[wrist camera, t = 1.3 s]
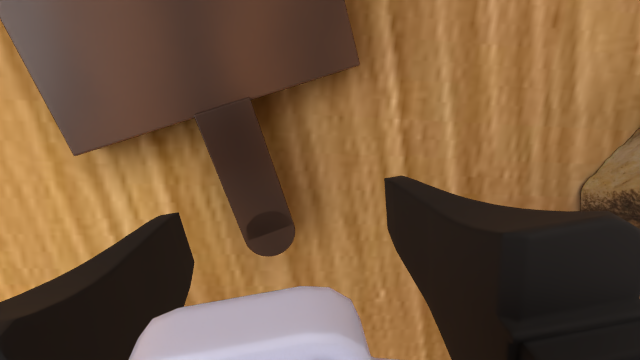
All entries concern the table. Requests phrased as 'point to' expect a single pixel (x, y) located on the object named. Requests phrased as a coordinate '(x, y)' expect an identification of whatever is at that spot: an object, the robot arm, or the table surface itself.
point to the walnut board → (183, 79)
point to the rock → (617, 184)
